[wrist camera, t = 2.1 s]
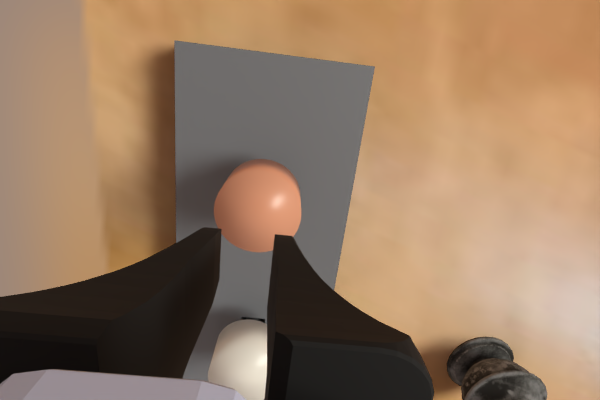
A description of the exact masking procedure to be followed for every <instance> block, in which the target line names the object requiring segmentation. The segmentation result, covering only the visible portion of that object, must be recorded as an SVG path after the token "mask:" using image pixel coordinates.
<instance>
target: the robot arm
mask: <svg viewBox="0 0 600 400" xmlns="http://www.w3.org/2000/svg"><path fill="white" fill-rule="evenodd" d="M221 232H222V229H218V228H208V227H203V228H201V229H199V230H197V231H196V232H194V233H192V234H191V235H189V236H187V237H186V238H184V239H182V240H180V241H179V242H177V243H175V244H174V245H172V246H170V247H168V248H166V249H164V250H162V251H160V252H158V253H156V254H154V255H153V256H151V257H149V258H147V259H144V260H142V261H140V262H138V263H135V264H133V265H130V266H128V267H125V268H122V269H120V270H117V271H114V272H111V273H108V274H105V275H101V276H98V277H95V278H92V279H89V280H85V281H81V282H78V283H74V284H69V285H66V286H61V287H56V288H52V289H47V290H42V291H36V292H31V293H24V294H18V295H11V296H5V297H0V400H246V399H245V398H244V397H243V396H242V395H241V394H239V393H238V392H237V391H236V390H235V389H233V388H229V387H226V386H222V385H219V384H215V383H211V382H208V381H204V380H192V379H183V375H184V372H185V369H186V367H187V364H188V361H189V359H190V356H191V354H192V351H193V349H194V347H195V344H196V342H197V340H198V337H199V335H200V333H201V330H202V328H203V326H204V323H205V321H206V319H207V316H208V314H209V311H210V309H211V307H212V304H213V301H214V298H215V294H216V290H217V287H218V283H219V278H220V255H221ZM433 396H434V389H433V384H432V379H431V377H430V375H429V372H428V370H427V368H426V366H425V363H424V361H423V359H422V357H421V355H420V353H419V352H418V350H417V348H416V346H415V345H414V343H413V341H412V339H411V338H410V336H409V335H407V334H405V333H402V332H400V331H398V330H396V329H394V328H392V327H390V326H388V325H385V324H383V323H381V322H379V321H377V320H376V319H374V318H372V317H371V316H369V315H367V314H365V313H364V312H362V311H361V310H359V309H357V308H356V307H354V306H353V305H352V304H350V303H349V302H348V301H346V300H345V299H344V298H342V297H341V296H340V295H338V294H337V293H336V292H335V291H334V290H333V289H332V288H331V287H330V286H328V285H327V284H326V283H325V282H324V281H323V280H322V279H321V278H320V277H319V275H318V274H317V273H316V272H315V270H314V269H313V268H312V267H311V265H310V264H309V262H308V261H307V259H306V258H305V257H304V255H303V253H302V252H301V250H300V248H299V247H298V245H297V243H296V241H295V239H294V238H293V236H288V235H278V234H275V237H274V246H273V255H272V265H271V274H270V284H269V294H268V303H267V377H266V388H265V398H264V400H433Z"/></svg>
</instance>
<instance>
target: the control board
mask: <svg viewBox="0 0 600 400" xmlns="http://www.w3.org/2000/svg"><path fill="white" fill-rule="evenodd" d="M374 68H375V67H374V66H366V65H358V64H351V63H343V62H335V61H328V60H320V59H312V58H305V57H297V56H289V55H282V54H274V53H266V52H259V51H251V50H243V49H236V48H228V47H220V46H213V45H205V44H197V43H190V42H182V41H175V164H176V243H177V242H179V241H180V240H182V239H184V238H186V237H187V236H189V235H191V234H192V233H194V232H196V231H197V230H199V229H201V228H203V227H208V228H218V227H217V224H216V221H215V217H214V204H215V200H216V197H217V195H218V193H219V191H220V189H221V188H222V186H223V185H224V183H225V182H226V180H227V178H228V177H229V175H230V174H231V173H232V171H233V170H234V169H235V168H236V167H238V166H239V165H241V164H243V163H244V162H247V161H250V160H254V159H268V160H272V161H275V162H278V163H280V164H282V165H283V166H285V167H286V168H287V169H289V171H290V172H291V173H292V174H293V175H294V177H295V178H296V180H297V182H298V185H299V188H300V196H301V221H300V225H299V228H298V230H297V232H296V233H295V235H294V236H293V238H294V239H295V241H296V243H297V245H298V247H299V248H300V250H301V252H302V253H303V255H304V257H305V258H306V259H307V261H308V262H309V264H310V265H311V267H312V268H313V269H314V270H315V272H316V273H317V274H318V275H319V277H320V278H321V279H322V280H323V281H324V282H325V283H326V284H327V285H328V286H330V287H331V288H332V289H333V290H334V287H335V282H336V276H337V271H338V265H339V260H340V254H341V249H342V243H343V238H344V232H345V227H346V221H347V216H348V210H349V205H350V200H351V194H352V189H353V183H354V178H355V172H356V167H357V161H358V156H359V150H360V145H361V139H362V134H363V128H364V123H365V117H366V112H367V106H368V101H369V95H370V90H371V85H372V79H373V74H374ZM272 255H273V250H272V251H268V252H250V251H246V250H243V249H240V248H238V247H236V246H235V245H233V244H232V243H230V242H229V241H228V240H227V239H226V238H225V237H224V236H223V235H222V234H221V255H220V278H219V283H218V287H217V290H216V294H215V298H214V301H213V304H212V307H211V309H210V311H209V314H208V316H207V319H206V321H205V323H204V326H203V328H202V330H201V333H200V335H199V337H198V340H197V342H196V344H195V347H194V349H193V351H192V354H191V356H190V359H189V361H188V364H187V367H186V369H185V372H184V375H183V379H192V380H204V381H208V370H209V367H210V364H211V360H212V357H213V353H214V350H215V346H216V343H217V339H218V336H219V334H220V332H221V331H222V330H223V329H224V328H225V327H226V326H227V325H229V324H231V323H233V322H235V321H239V320H246V318H247V317H249V318H261V322H263V323H265V324H267V303H268V294H269V284H270V274H271V265H272ZM208 382H209V381H208Z"/></svg>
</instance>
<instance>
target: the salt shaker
mask: <svg viewBox="0 0 600 400" xmlns="http://www.w3.org/2000/svg"><path fill="white" fill-rule="evenodd" d="M513 359H514V356H513V352H512V350H511V349H510V347H509V346H508V344H506V343H505V342H503V341H502V340H499V339H497V338H492V337H480V338H475V339H472V340H469V341H467V342H465V343H463V344H461V345H460V346H459V347H458V348H456V349H455V350H454V351H453V353H452V354H451V355H450V357H449V360H448V362H447V371H448V374H449V376H450V378H451V379H452V380H453V381H454V382H455V383H456V384H458V385H459V386H461V391H462V399H463V400H546V399H547V391H546V386H545V385H544V384H543V382H542V381H541V379H539V378H538V377H537V376H535V375H534V374H532V373H529V372H528V371H527V370H525V369H524V368H523V367H521V366H519V365H518V364H516V363H515V362H513Z"/></svg>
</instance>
